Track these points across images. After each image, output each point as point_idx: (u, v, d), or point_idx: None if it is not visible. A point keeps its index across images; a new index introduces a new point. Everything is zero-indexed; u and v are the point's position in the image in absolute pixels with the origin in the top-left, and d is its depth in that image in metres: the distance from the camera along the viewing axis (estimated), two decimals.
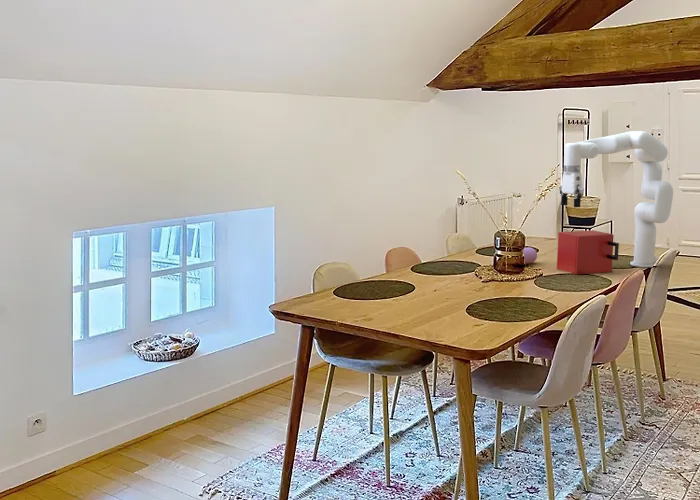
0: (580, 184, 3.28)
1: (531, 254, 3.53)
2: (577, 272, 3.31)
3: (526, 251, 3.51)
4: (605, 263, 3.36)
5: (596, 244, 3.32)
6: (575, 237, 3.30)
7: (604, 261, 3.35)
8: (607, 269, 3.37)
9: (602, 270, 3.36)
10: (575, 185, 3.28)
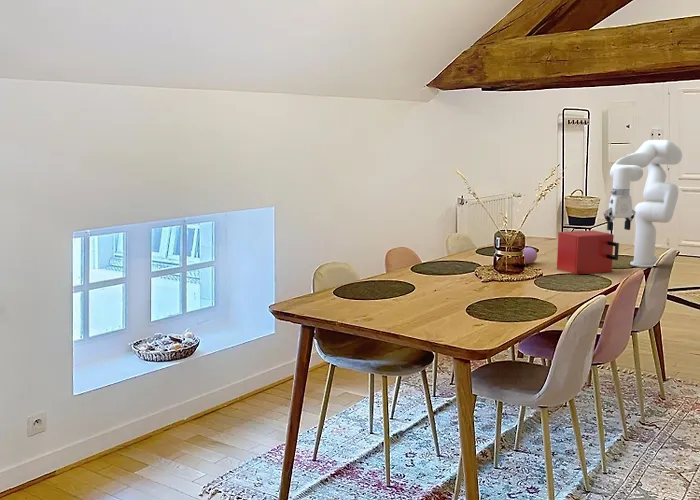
0: (612, 207, 3.23)
1: (531, 254, 3.53)
2: (577, 272, 3.31)
3: (526, 251, 3.51)
4: (605, 263, 3.36)
5: (596, 244, 3.32)
6: (575, 237, 3.30)
7: (604, 261, 3.35)
8: (607, 269, 3.37)
9: (602, 270, 3.36)
10: (609, 208, 3.26)
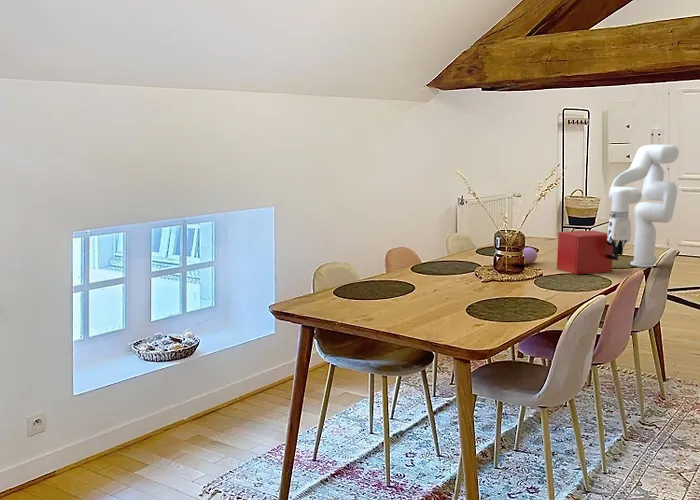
0: (611, 230, 3.25)
1: (531, 254, 3.53)
2: (577, 272, 3.31)
3: (526, 251, 3.51)
4: (605, 263, 3.36)
5: (596, 244, 3.32)
6: (575, 237, 3.30)
7: (604, 261, 3.35)
8: (607, 269, 3.37)
9: (602, 270, 3.36)
10: (608, 230, 3.27)
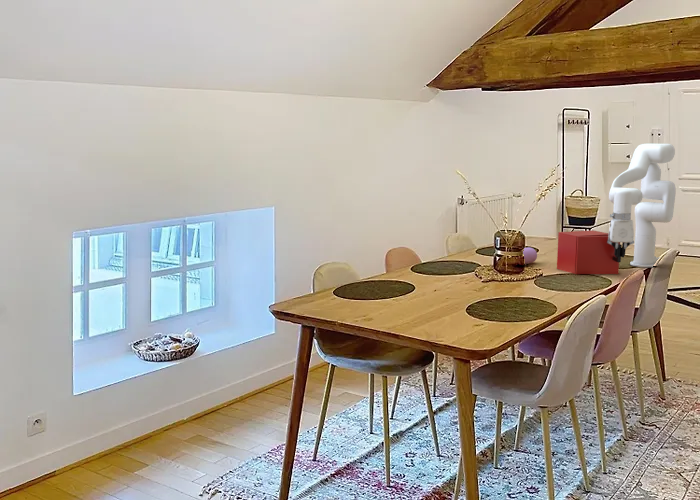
0: (610, 231, 3.21)
1: (531, 254, 3.53)
2: (577, 272, 3.31)
3: (526, 251, 3.51)
4: (611, 265, 3.31)
5: (599, 245, 3.29)
6: (575, 237, 3.30)
7: (609, 263, 3.31)
8: (613, 271, 3.31)
9: (607, 272, 3.31)
10: (609, 231, 3.24)
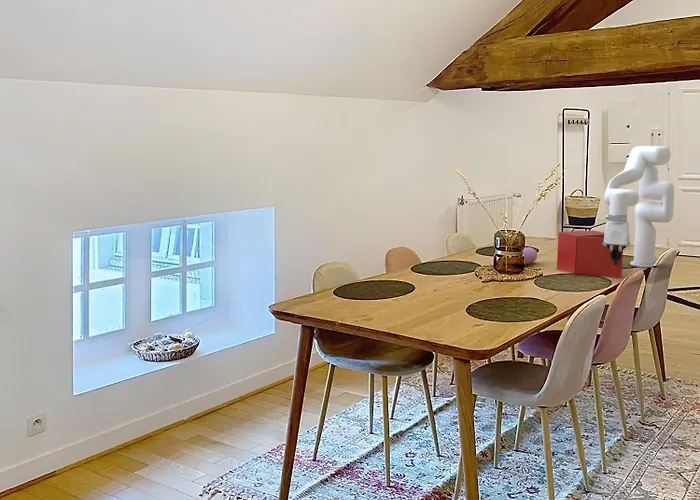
0: None
1: (531, 254, 3.53)
2: (576, 272, 3.31)
3: (526, 251, 3.51)
4: (613, 268, 3.24)
5: (600, 247, 3.25)
6: (575, 237, 3.30)
7: (611, 265, 3.24)
8: (615, 274, 3.24)
9: (609, 274, 3.25)
10: None
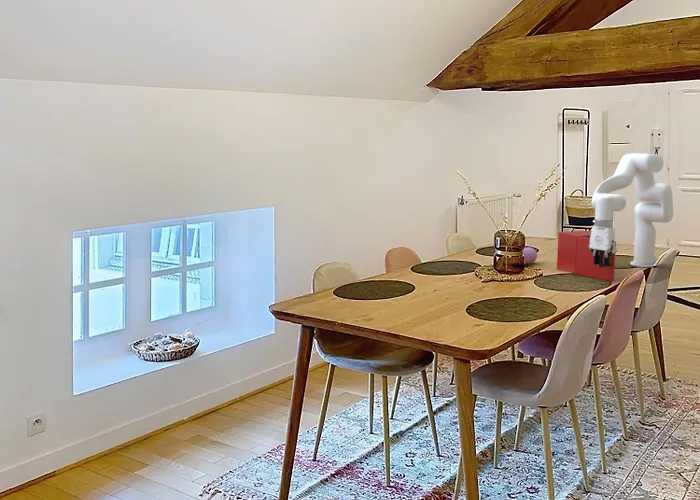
0: None
1: (531, 254, 3.53)
2: (576, 272, 3.31)
3: (526, 251, 3.51)
4: (605, 271, 3.17)
5: None
6: (575, 237, 3.30)
7: (604, 268, 3.18)
8: (607, 278, 3.17)
9: (602, 277, 3.19)
10: None
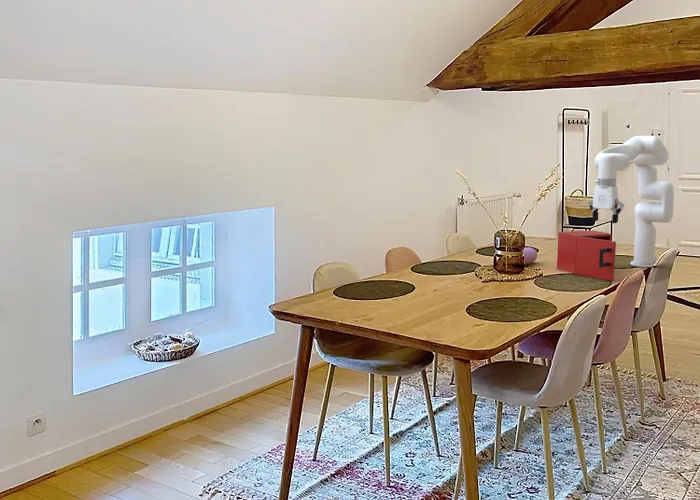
0: None
1: (531, 254, 3.53)
2: (576, 272, 3.31)
3: (526, 251, 3.51)
4: (605, 271, 3.17)
5: (595, 248, 3.21)
6: (575, 237, 3.30)
7: (604, 268, 3.18)
8: (607, 278, 3.17)
9: (602, 277, 3.19)
10: None
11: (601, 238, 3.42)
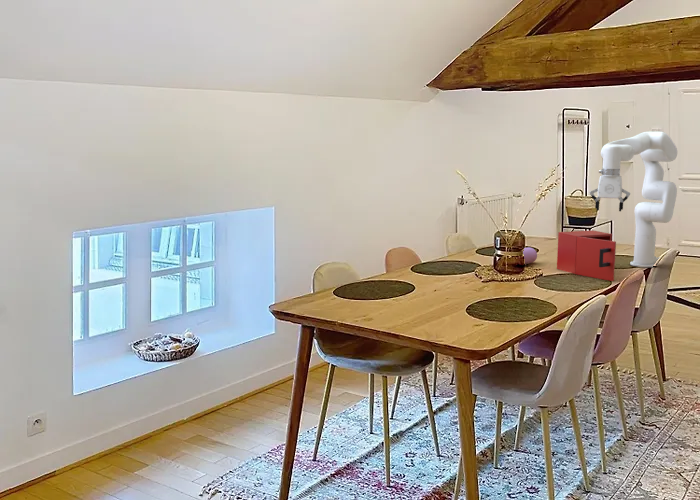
0: (598, 187, 3.22)
1: (531, 254, 3.53)
2: (576, 272, 3.31)
3: (526, 251, 3.51)
4: (605, 271, 3.17)
5: (595, 248, 3.21)
6: (575, 237, 3.30)
7: (604, 268, 3.18)
8: (607, 278, 3.17)
9: (602, 277, 3.19)
10: None
11: (601, 238, 3.42)
